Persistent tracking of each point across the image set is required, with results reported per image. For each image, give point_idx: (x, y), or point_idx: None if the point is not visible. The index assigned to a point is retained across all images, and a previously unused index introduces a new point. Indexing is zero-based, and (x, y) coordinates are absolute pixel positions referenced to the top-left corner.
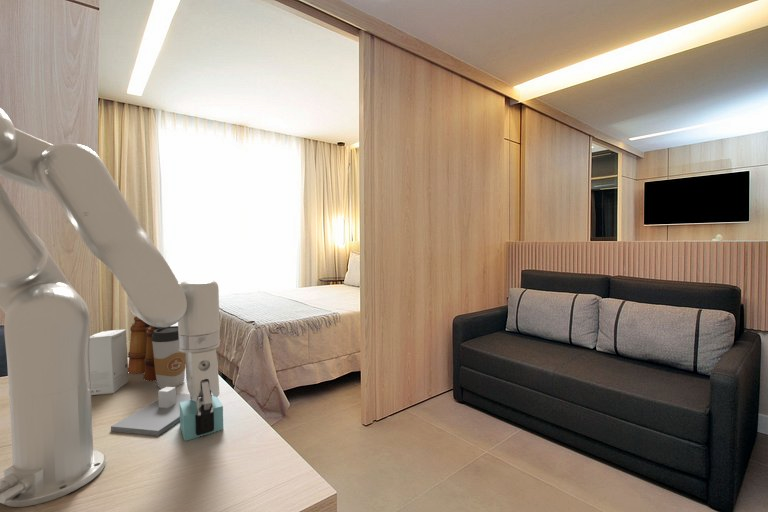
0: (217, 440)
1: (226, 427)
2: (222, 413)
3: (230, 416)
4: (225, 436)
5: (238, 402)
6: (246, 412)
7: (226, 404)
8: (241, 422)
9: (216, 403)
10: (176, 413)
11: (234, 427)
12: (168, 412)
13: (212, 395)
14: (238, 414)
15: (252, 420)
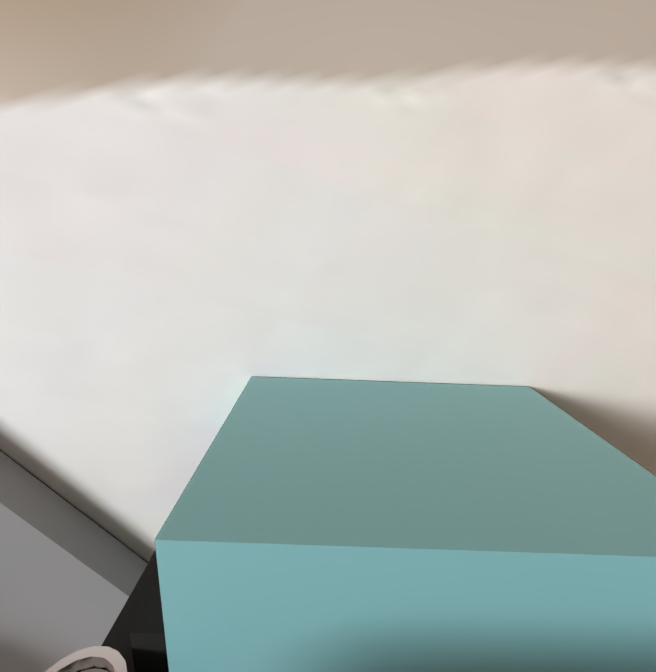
0: (643, 452)
1: (507, 356)
2: (652, 480)
3: (333, 277)
4: (637, 397)
5: (53, 114)
6: (350, 116)
7: (45, 240)
8: (518, 227)
9: (585, 612)
10: (93, 629)
11: (558, 304)
12: (44, 662)
13: (192, 592)
14: (341, 202)
15: (562, 120)
